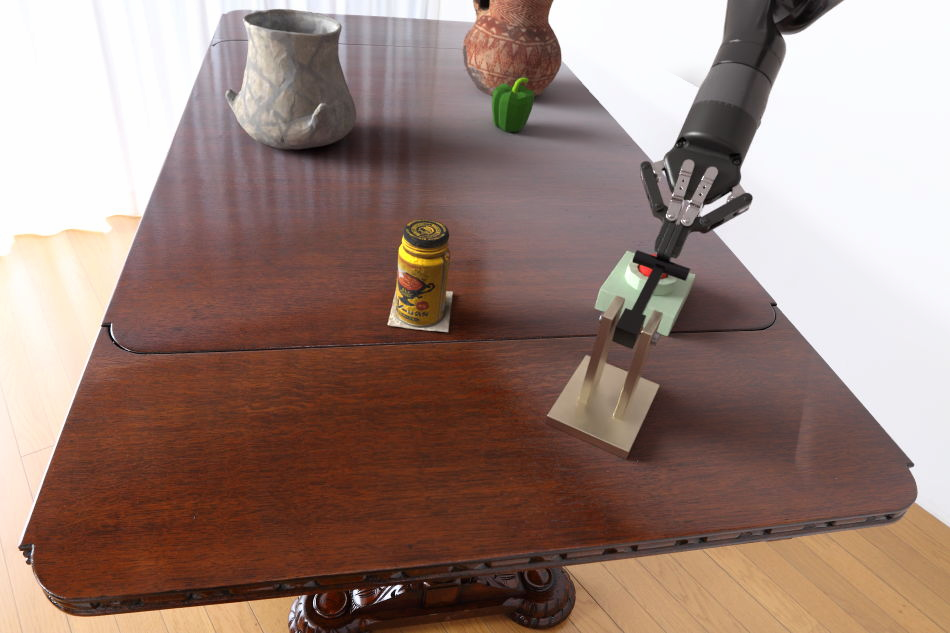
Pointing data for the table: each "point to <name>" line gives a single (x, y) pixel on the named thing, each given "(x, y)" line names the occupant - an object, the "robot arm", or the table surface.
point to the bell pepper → (512, 105)
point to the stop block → (630, 285)
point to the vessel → (293, 81)
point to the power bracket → (608, 390)
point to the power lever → (644, 297)
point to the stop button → (648, 270)
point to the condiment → (422, 278)
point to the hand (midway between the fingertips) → (663, 258)
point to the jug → (512, 45)
